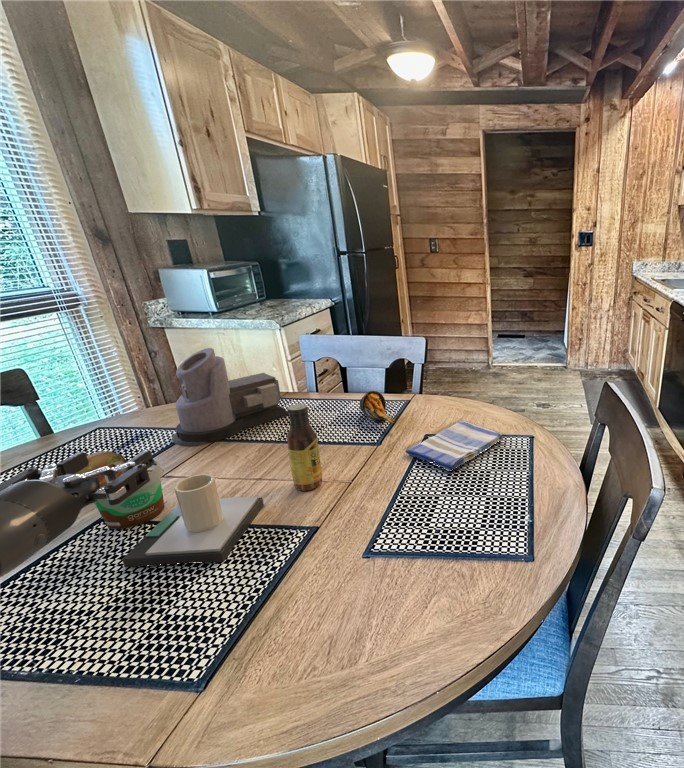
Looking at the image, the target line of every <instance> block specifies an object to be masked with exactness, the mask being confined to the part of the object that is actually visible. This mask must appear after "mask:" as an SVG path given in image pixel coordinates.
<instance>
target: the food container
mask: <svg viewBox="0 0 684 768" xmlns="http://www.w3.org/2000/svg"><path fill="white" fill-rule="evenodd" d="M147 471H148V474H149V478H150V481H149V482H148V483H147V484H145V485H144V486H142V487H141V488H140V489H138V490H137V491H136V492H134V493H133V494H132V495H130V496H129V497H128V498H126V499H125V500H123V501H122V502H121V503H119V504H116V505H109V502H108V500H97V501H96V502H94V503H93V504H94V505H95V506H96V508H97V510H98V512H99V514H100V515H101V517H102V519H103V521H104V524H105V525H106V527H107V528H108V529H111V530H122V529H124V530H125V529H130V528H134V527H136V526H137V527H138V526H140V525H143V524H145V523H147V522H150V521H151V520H154V519H155V518H156V517H158V516H160V514H161V513H162V512H163V511H164V510H165V500H164V495H163V493H164V492H163V486H162V480H161V479H162V478H161V477H162V476H163V475H164V469H163V468H162V466H161V464H160V463H159V462H158V461H157V460H155V459H154V464H153V465H151V466H150V467H149V468H148V469H147ZM119 477H120V476H119ZM116 479H117V478H116ZM136 481H137V480H136ZM106 485H107V483H106V484H104V485H102V486H100V489H103V488H104V487H105V486H106Z"/></svg>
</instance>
